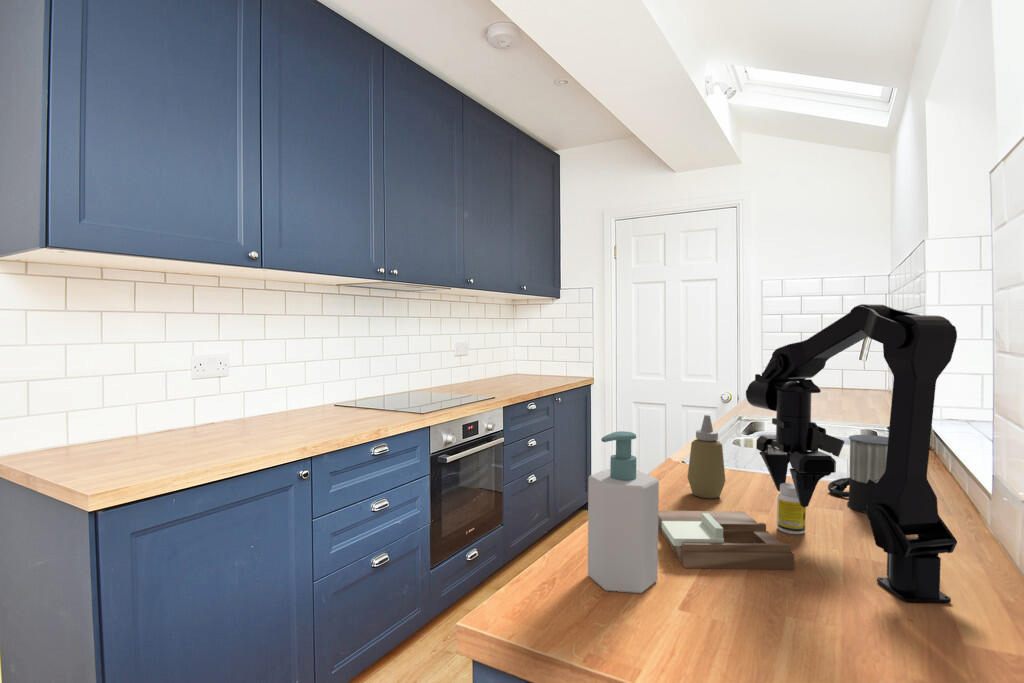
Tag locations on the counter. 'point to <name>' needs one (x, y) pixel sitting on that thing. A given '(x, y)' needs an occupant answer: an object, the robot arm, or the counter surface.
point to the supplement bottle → (790, 510)
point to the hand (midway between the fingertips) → (791, 498)
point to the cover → (694, 531)
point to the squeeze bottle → (706, 462)
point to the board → (731, 543)
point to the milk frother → (862, 469)
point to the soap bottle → (623, 522)
